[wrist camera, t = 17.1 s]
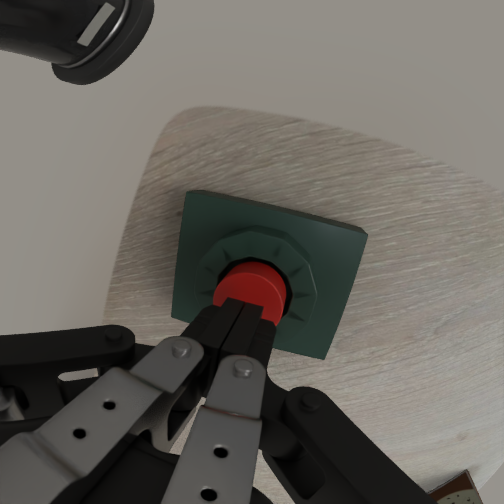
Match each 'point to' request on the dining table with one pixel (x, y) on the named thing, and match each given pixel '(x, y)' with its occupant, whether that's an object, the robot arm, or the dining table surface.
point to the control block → (269, 263)
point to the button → (254, 288)
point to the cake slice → (457, 491)
